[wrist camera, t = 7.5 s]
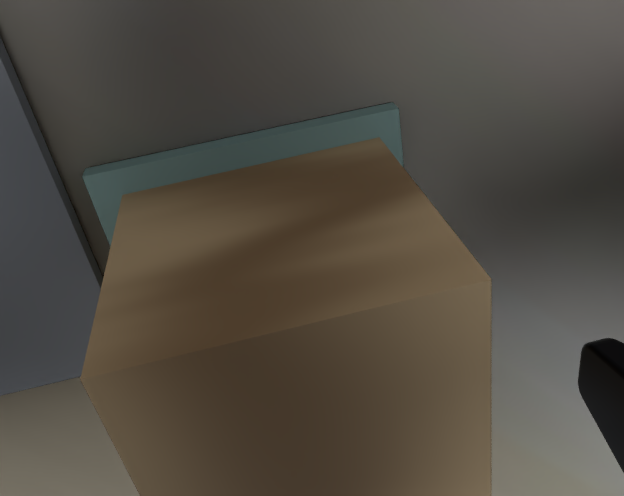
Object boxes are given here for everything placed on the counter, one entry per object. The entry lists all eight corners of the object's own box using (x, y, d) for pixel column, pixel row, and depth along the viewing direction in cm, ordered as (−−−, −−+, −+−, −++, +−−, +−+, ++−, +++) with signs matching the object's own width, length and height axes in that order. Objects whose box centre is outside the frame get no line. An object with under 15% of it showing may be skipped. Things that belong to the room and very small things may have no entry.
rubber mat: (393, 101, 11) (398, 108, 11) (412, 334, 15) (418, 345, 14) (85, 168, 11) (81, 176, 11) (174, 393, 14) (174, 405, 14)
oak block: (379, 137, 11) (491, 279, 7) (400, 333, 14) (491, 521, 10) (122, 195, 11) (80, 380, 7) (193, 384, 14) (195, 602, 9)
